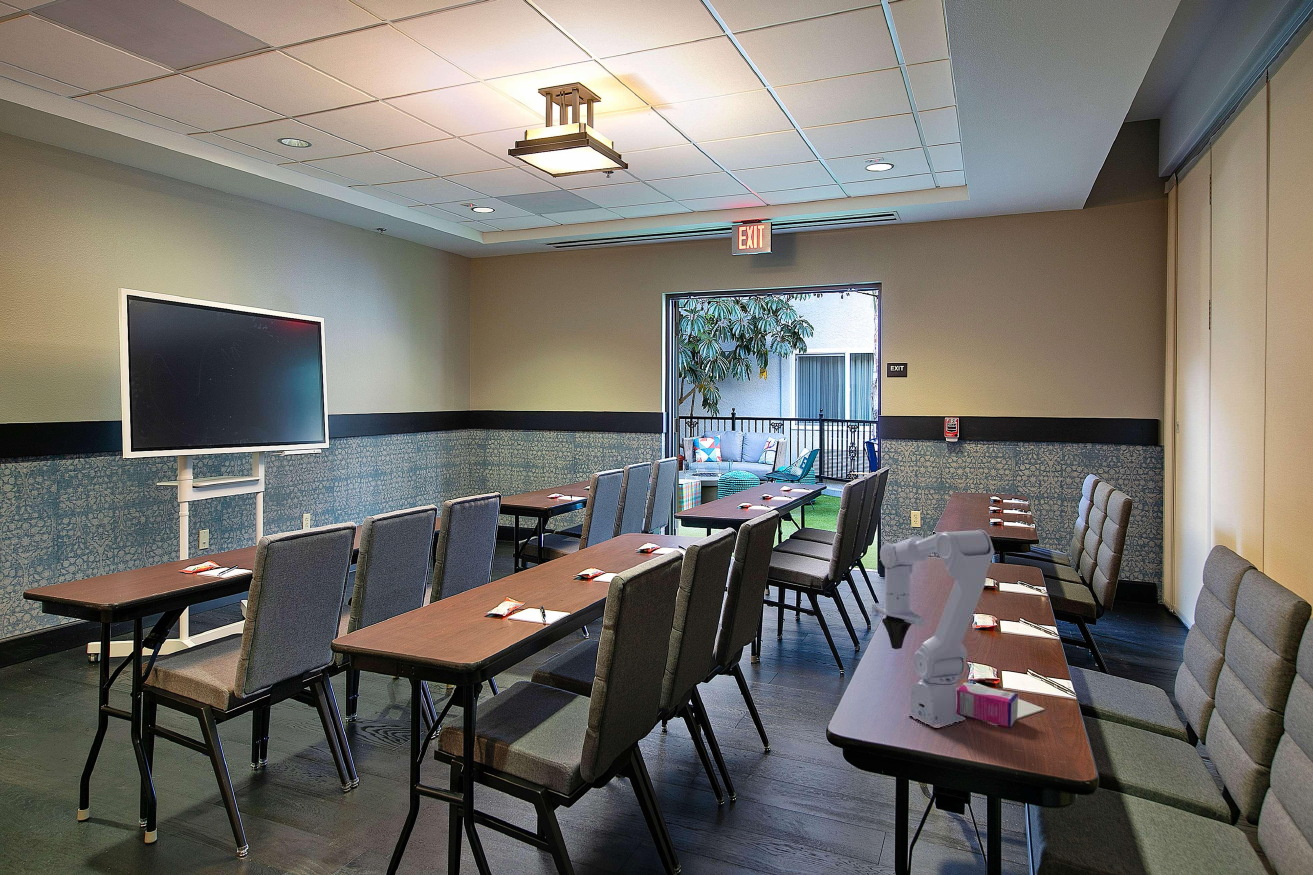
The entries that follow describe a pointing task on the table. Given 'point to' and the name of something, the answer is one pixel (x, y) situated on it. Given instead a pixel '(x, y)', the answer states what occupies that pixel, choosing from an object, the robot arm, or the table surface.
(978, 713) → the supplement box
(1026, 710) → the grey mat
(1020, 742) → the table surface
